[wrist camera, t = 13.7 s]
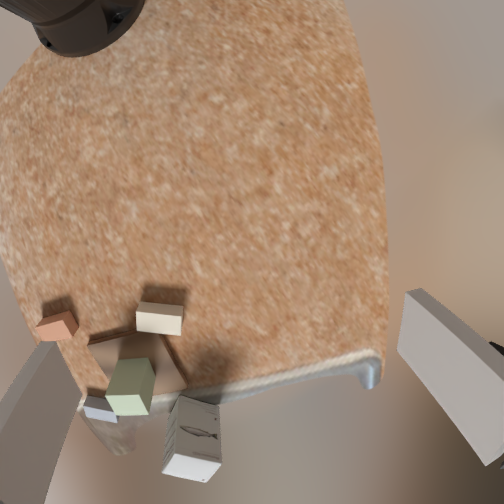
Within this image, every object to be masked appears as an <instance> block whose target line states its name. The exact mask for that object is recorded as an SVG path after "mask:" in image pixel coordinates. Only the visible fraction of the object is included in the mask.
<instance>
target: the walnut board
mask: <svg viewBox="0 0 504 504" xmlns="http://www.w3.org/2000/svg"><path fill="white" fill-rule="evenodd" d="M87 347H88V349H89V350H90V352H91V353H92V355H93V357H94V358H95V360H96V361H97V363H98V364H99V366H100V367H101V369H102V370H103V372H104V373H105V375H106V376H107V378H108V379H109V381H110V380H111V377H112V374H113V371H114V369H115V366H116V363H117V361H118V360H122V359H135V358H147V357H148V359H149V361H150V364H151V366H152V369H153V371H154V374H155V377H156V379H155V384H154V389H153V395H152V396H154V395H159V394H164V393H169V392H174V391H178V390H183V389H188V382H187V380H186V378H185V376H184V375H183V373H182V371H181V369H180V368H179V366H178V364H177V362H176V360H175V358H174V357H173V355H172V353H171V351H170V349H169V347H168V345H167V343H166V342H165V340H164V338H163V336H162V334H160V333H151V332H143V331H137V329H135V330H131V331H128V332H124V333H120V334H116V335H112V336H109V337H105V338H101V339H97V340H93V341H89V343H88V345H87Z"/></svg>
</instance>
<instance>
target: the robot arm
mask: <svg viewBox="0 0 504 504" xmlns="http://www.w3.org/2000/svg"><path fill="white" fill-rule="evenodd" d="M143 3H144V0H0V6H1V7H3V8H5V9H7V10H8V11H10V12H12V13H14V14H16V15H18V16H20V17H22V18H24V19H25V20H27V21H29V22H31V23H32V25H33V27H34V29H35V31H36V34H37V35H38V38H39V40H40V41H41V43H42V44H43V45H44V46H45V47H46V48H47V49H49V50H50V51H52V52H54V53H56V54H58V55H60V56H64V57H82V56H86V55H90V54H93V53H95V52H98V51H100V50H102V49H104V48H105V47H107V46H109V45H110V44H112V43H113V42H115V41H116V40H117V39H118V38H120V37H121V36H122V35H123V34H124V33H125V32H126V31H127V30H128V29H129V28H130V27H131V26H132V24H133V23H134V22H135V20H136V19H137V17H138V15H139V13H140V11H141V9H142V7H143ZM397 351H398V353H399V354H400V355H401V356H402V357H403V359H404V360H405V361H406V362H407V364H408V365H409V366H410V367H411V369H412V370H413V371H414V372H415V374H416V375H417V376H418V377H419V378H420V380H421V381H422V382H423V383H424V385H425V386H426V387H427V389H428V390H429V391H430V392H431V394H432V395H433V396H434V397H435V399H436V400H437V401H438V403H439V404H440V405H441V406H442V408H443V409H444V410H445V412H446V413H447V414H448V416H449V417H450V418H451V420H452V421H453V422H454V424H455V425H456V426H457V428H458V429H459V430H460V432H461V433H462V434H463V436H464V437H465V438H466V440H467V441H468V442H469V444H470V445H471V446H472V448H473V449H474V451H475V452H476V453H477V455H478V456H479V458H480V459H481V460H482V462H483V463H484V465H485V466H487V465H488V464H490V463H491V462H493V461H494V460H495V459H497V458H498V457H500V456H501V455H502V454H503V453H504V347H502V346H500V345H498V344H496V343H494V342H489V343H488V342H487V341H486V340H484V339H483V338H482V337H481V336H480V335H479V334H477V333H476V332H475V331H474V330H473V329H471V328H470V327H469V326H468V325H467V324H465V323H464V322H463V321H462V320H461V319H459V318H458V317H457V316H456V315H455V314H453V313H452V312H451V311H450V310H448V309H447V308H446V307H445V306H443V305H442V304H441V303H440V302H438V301H437V300H436V299H435V298H433V297H432V296H431V295H430V294H428V293H427V292H426V291H424V290H423V289H422V288H420V289H415V290H411V291H407V292H405V301H404V308H403V315H402V322H401V328H400V335H399V341H398V346H397ZM81 397H82V393H81V391H80V389H79V387H78V385H77V384H76V382H75V380H74V378H73V376H72V374H71V372H70V370H69V368H68V366H67V364H66V362H65V360H64V358H63V356H62V354H61V352H60V350H59V347H58V345H57V343H56V341H41V342H40V343H39V345H38V346H37V348H36V349H35V350H34V352H33V353H32V355H31V356H30V357H29V359H28V360H27V362H26V363H25V365H24V366H23V368H22V369H21V371H20V372H19V374H18V375H17V377H16V378H15V380H14V381H13V383H12V384H11V386H10V387H9V389H8V391H7V392H6V394H5V395H4V397H3V399H2V400H1V402H0V504H44V502H45V499H46V495H47V492H48V489H49V485H50V482H51V479H52V476H53V473H54V469H55V466H56V464H57V460H58V458H59V455H60V452H61V449H62V446H63V443H64V441H65V438H66V435H67V433H68V430H69V427H70V425H71V422H72V419H73V417H74V414H75V412H76V409H77V407H78V404H79V402H80V399H81ZM503 468H504V461H503V462H502V464H501V467H500V469H503Z"/></svg>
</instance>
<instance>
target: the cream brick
mask: <svg viewBox="0 0 504 504" xmlns="http://www.w3.org/2000/svg"><path fill="white" fill-rule="evenodd" d="M182 322H183V306H179V305H169V304H159V303H150V302H141V301H140V303H139V306H138V308H137V310H136V324H137V331H143V332H151V333H160V334H169V335H179V336H181V331H182Z"/></svg>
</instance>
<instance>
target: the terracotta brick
mask: <svg viewBox="0 0 504 504" xmlns="http://www.w3.org/2000/svg"><path fill="white" fill-rule="evenodd" d="M35 328H36V330H37V331H38V333H39V335H40V337H41V338H42V340H43V341H59V340H63V339H68V338H72V337H73V336H74V334H75V333H76V331H77V329H78V328H79V326H78V325H77V323H76V321H75V319H74V317H73V315H72V313H71V311H70V310H69V311H66V312H62V313H59V314H56V315H52V316H49V317H45V318H43V319H42V320H41V321H40V322H39V323H38V325H37V326H36V327H35Z"/></svg>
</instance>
